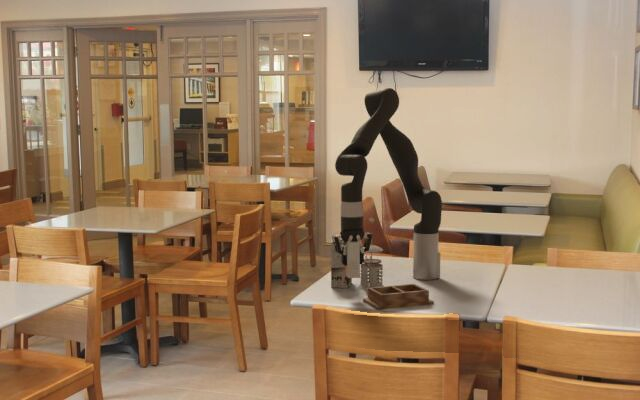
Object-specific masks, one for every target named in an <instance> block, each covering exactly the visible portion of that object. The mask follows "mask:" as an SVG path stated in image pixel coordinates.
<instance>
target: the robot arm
mask: <svg viewBox="0 0 640 400" xmlns="http://www.w3.org/2000/svg"><path fill="white" fill-rule="evenodd" d="M399 105H400V97H399V94H398V93H397V91H396V90H395V89H394V88H392V87H387V88H380V89H378V90H373V91H369V92H368V93H366V94H365V96H364V107H365V109H366V112H367V113H368V116H369V117H370V118H368V119H367V120H366V121H365V122H364V123H363V124H362V125H361V126H360V127H359V128H358V130H357V131H356V132H355V134H354V137H353V138H352V140H351V142H350V143H349V144H348V145H347V146H346V147H345V148H344V149H343V150H342V151H341V152H340V153H339V155H338V156H337V158H336V160H335V163H334V166H335V171H336V172H337V174H339V175H340V176H344V177H345V176H348V177H349V176H350V177H353V178H352V181H351V182H346V183H343V184H342V185H341V187H340V196H341V197H340V198H341V199H340V201H341V202H340V233H339V234H337V235H332V236H331V238H332V242H333V243H334V247H335V251H336V252H337V253H339V254H341V263H342V264H343V265H344V266H347V255H346V254H347V243H349V242H355V241H358V242H359V243H360V265H361V264H364V263H363V262H364V259H365V252H366V251H369V248H370V245H371V240H373V233H370V232H365V231H364V213H365V212H364V205H363V187H364V182H365V177H366V175H367V171H368V161H367V159H366V157H367V156H368V155H369V154H370V152H371V151H372V148H373V146H374V144H375V142H376V140H377V138H378V137H379V135H380V137H381V139H382V141H383V143H384V145H385V148H386V150H387V152H388V155H389V157H390V158H391V161H392V163H393V166H394V167H395V170H396V173H397V174H398V176H399V178H400V180H401V183H402V185H403V188H404V191H405V195H406V198H407V201H408V204H409V206H410V208H411V210H413V211H414V213H417V214H421V216H420V217H421V218H420V221H419V222H417V223H415V224H414V225H413V253H412V255H413V256H412V257H413V259H412V260H413V262H412V264H413V265H412V266H413V267H412V268H413V271H412V275H413V276H412V277H413V279H416V280H421V281H422V280H424V281H425V280H427V281H429V280H436V279H440V278H441V252H439V230H440V227H441V223H442V210H443V207H442V206H443V201H442V197H441V195H440V193H439V192H438V191H436V190H431V189H426V188H424V186H423V184H422V182H421V179H420V177H419V173H418V172H419V157H418V153H417V150H416V149H415V146H414V145H413V142H412V140H411V139H410V138H409V137H408V136H407V135H406V134H405V133H403V132H402V131H401V130H400V129H398V128H397V127H396V126H395V125H394V124H392V122H391V121H390V120H391V118H392V117H393V116H394V115H395V113H396V112H397V110H398V109H399ZM363 238H364V242H363V243H362V240H363ZM340 240H343V244H342V249H341V248H340V243H339V241H340Z"/></svg>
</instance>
